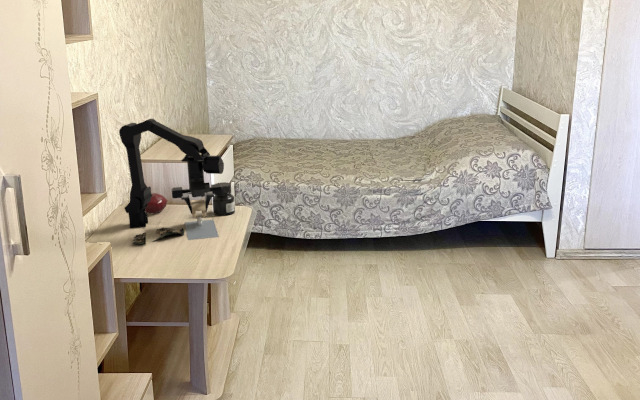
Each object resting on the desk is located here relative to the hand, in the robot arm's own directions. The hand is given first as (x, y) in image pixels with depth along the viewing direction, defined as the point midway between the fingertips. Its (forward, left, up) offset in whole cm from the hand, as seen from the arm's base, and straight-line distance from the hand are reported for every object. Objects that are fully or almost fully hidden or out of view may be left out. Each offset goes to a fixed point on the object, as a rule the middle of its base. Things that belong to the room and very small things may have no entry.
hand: (198, 212), depth 249 cm
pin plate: (0, -7, -6) cm, 9 cm away
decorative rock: (-16, -8, -7) cm, 19 cm away
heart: (-16, +26, -6) cm, 31 cm away
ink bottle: (+11, +16, -6) cm, 21 cm away
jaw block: (0, 0, -1) cm, 1 cm away
